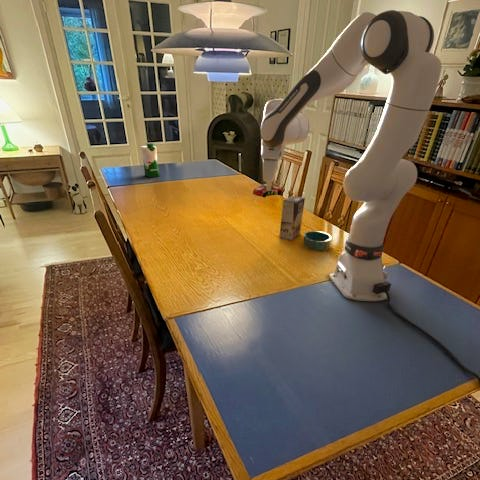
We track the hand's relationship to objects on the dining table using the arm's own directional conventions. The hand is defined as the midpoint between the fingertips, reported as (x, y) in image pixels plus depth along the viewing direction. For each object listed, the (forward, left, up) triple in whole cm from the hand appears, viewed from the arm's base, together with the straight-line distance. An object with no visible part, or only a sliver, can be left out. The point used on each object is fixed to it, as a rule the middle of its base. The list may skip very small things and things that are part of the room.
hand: (269, 187), depth 137 cm
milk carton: (+103, +74, -22) cm, 128 cm away
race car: (0, +1, -3) cm, 3 cm away
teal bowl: (-6, -21, -22) cm, 31 cm away
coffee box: (+5, -11, -22) cm, 25 cm away
